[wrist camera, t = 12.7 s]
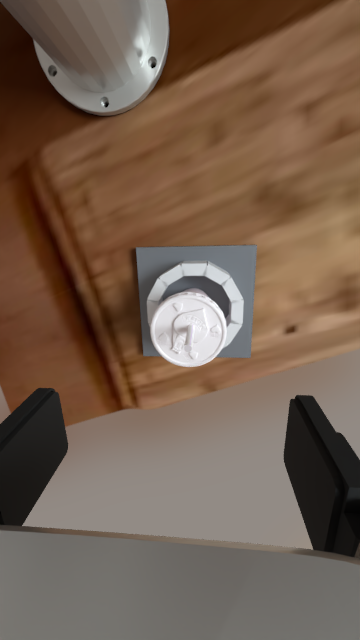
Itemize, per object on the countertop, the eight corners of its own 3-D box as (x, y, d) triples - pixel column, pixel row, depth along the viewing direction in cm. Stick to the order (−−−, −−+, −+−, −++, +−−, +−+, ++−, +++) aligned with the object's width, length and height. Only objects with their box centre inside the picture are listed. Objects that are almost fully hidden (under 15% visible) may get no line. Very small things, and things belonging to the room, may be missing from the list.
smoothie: (232, 295, 31) (252, 341, 18) (202, 339, 33) (198, 412, 20) (183, 264, 30) (166, 289, 17) (155, 312, 32) (120, 367, 19)
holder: (138, 247, 31) (128, 249, 28) (255, 244, 30) (262, 246, 26) (145, 352, 35) (137, 367, 31) (249, 354, 34) (254, 369, 30)
